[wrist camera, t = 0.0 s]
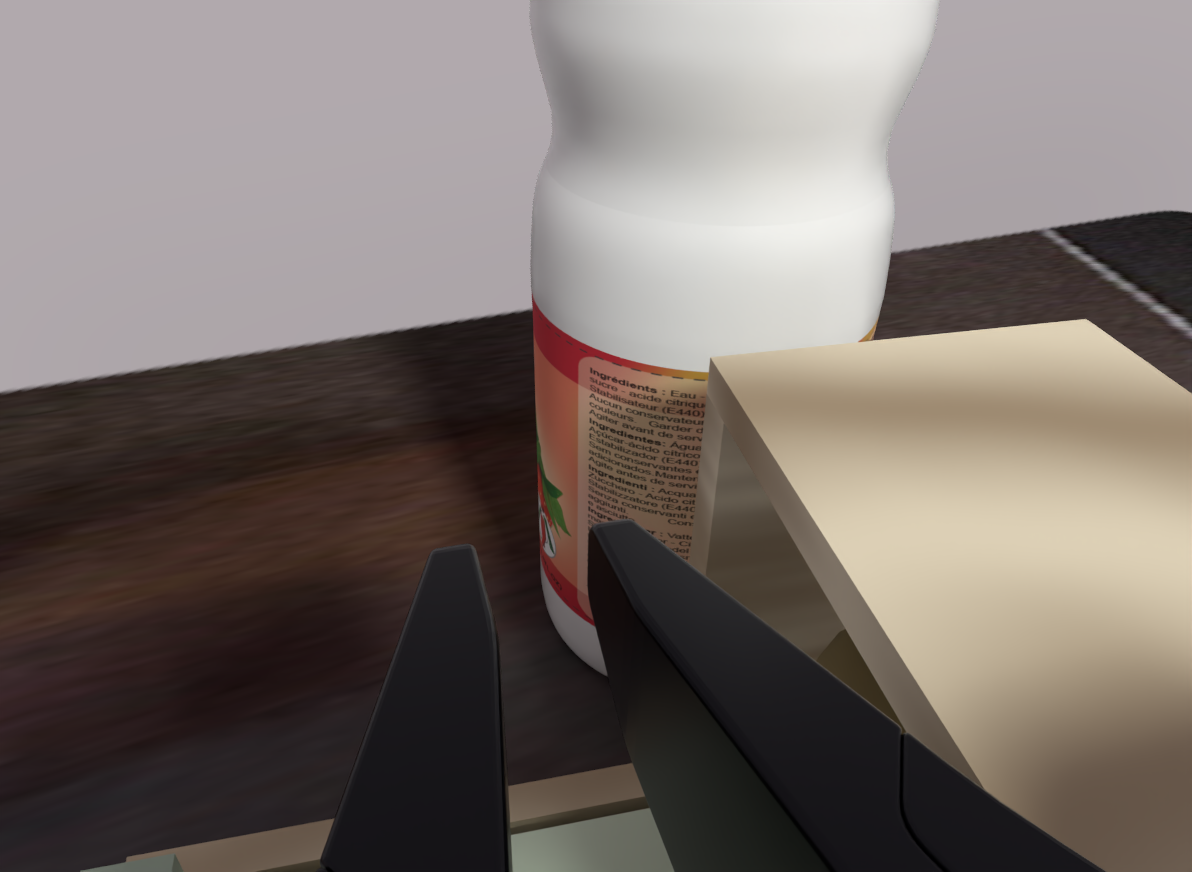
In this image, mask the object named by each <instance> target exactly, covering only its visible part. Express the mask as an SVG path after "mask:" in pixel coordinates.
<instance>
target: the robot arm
mask: <svg viewBox="0 0 1192 872" xmlns="http://www.w3.org/2000/svg"><path fill="white" fill-rule="evenodd" d="M587 587H588V597H589V603H590V608H591V612H592V616H593V620H594V624H595V628H596V632H597V636H598V640H599V644H600V647H601V651H602V655H603V659H604V663H605V667H606V671H607V675H608V679H609V683H610V687H611V691H612V695H613V699H614V703H615V707H616V711H617V714H618V718H619V722H620V726H621V729H622V733H623V736H624V740H625V743H626V746H627V749H628V752H629V755H630V758H631V761H632V763H633V766H634V769H635V772H636V774H637V777H638V779H639V782H640V784H641V787H642V790H643V792H644V795H645V797H646V800H647V803H648V805H649V808H650V810H651V813H652V815H653V818H654V821H655V823H656V826H657V828H658V831H659V833H660V836H661V839H662V841H663V844H664V846H665V849H666V852H667V854H668V857H669V859H670V862H671V864H672V867H673V870H674V872H1107V871H1105V870H1104V869H1102V868H1101V867H1099V866H1097V865H1096V864H1094V863H1093V862H1091V861H1090V860H1088V859H1087V858H1085V857H1083V856H1082V855H1080V854H1079V853H1077V852H1076V851H1074V850H1073V849H1071V848H1070V847H1068V846H1066V845H1065V844H1063V843H1062V842H1060V841H1059V840H1058V839H1056V838H1055V837H1053V836H1052V835H1050V834H1049V833H1047V832H1046V831H1044V830H1043V829H1041V828H1040V827H1038V826H1037V825H1035V824H1034V823H1032V822H1031V821H1029V820H1028V819H1026V818H1025V817H1023V816H1022V815H1020V814H1019V813H1017V812H1016V811H1014V810H1013V809H1011V808H1010V807H1009V806H1007V805H1006V804H1004V803H1003V802H1001V801H1000V800H998V799H997V798H996V797H994V796H993V795H992V794H990V793H989V792H987V791H986V790H985V789H983V788H982V787H981V786H979V785H978V784H977V783H975V782H974V781H973V780H971V779H970V778H968V777H967V776H966V775H964V774H963V773H962V772H960V771H959V770H958V769H956V768H955V767H953V766H952V765H951V764H949V763H948V762H947V761H945V760H944V759H943V758H941V757H940V756H939V755H937V754H936V753H935V752H934V751H932V750H931V749H930V748H928V747H927V746H926V745H925V744H923V743H922V742H921V741H919V740H918V739H917V738H915V737H914V736H913V735H912V734H910V733H908V732H906V733H903V734H902V730H901V727H900V726H899V725H898V724H897V723H895V722H894V721H893V720H892V719H890V718H889V717H888V716H886V715H885V714H884V713H883V712H881V711H880V710H879V709H877V708H876V707H875V706H873V705H872V704H871V703H870V702H868V701H867V700H866V699H864V698H863V697H862V696H860V695H859V694H858V693H857V692H855V691H854V690H853V689H851V688H850V687H849V686H848V685H846V684H845V683H844V682H842V681H841V680H840V679H838V678H837V677H836V676H835V675H833V674H832V673H831V672H829V671H828V670H827V669H826V668H824V667H823V666H822V665H820V664H819V663H818V662H816V661H815V660H814V659H813V658H811V657H810V656H809V655H807V654H806V653H805V652H803V651H802V650H801V649H800V648H798V647H797V646H796V645H794V644H793V643H792V642H791V641H789V640H788V639H787V638H785V637H784V636H783V635H781V634H780V633H779V632H778V631H776V630H775V629H774V628H772V627H771V626H770V625H769V624H767V623H766V622H765V621H763V620H762V619H761V618H759V617H758V616H757V615H756V614H754V613H753V612H752V611H750V610H749V609H748V608H746V607H745V606H744V605H743V604H741V603H740V602H739V601H737V600H736V599H735V598H734V597H732V596H731V595H730V594H728V593H727V592H726V591H724V590H723V589H722V588H721V587H719V586H718V585H717V584H715V583H714V582H713V581H711V580H710V579H709V578H708V577H706V576H705V575H704V574H702V573H701V572H700V571H699V570H697V569H696V568H695V567H693V566H692V565H691V564H689V563H688V562H687V561H686V560H684V559H683V558H682V557H680V556H679V555H678V554H677V553H675V552H674V551H673V550H671V549H670V548H669V547H667V546H666V545H665V544H664V543H662V542H661V541H660V540H658V539H657V538H656V537H654V536H653V535H652V534H651V533H649V532H648V531H647V530H645V529H644V528H643V527H642V526H640V525H639V524H638V523H636V522H635V521H633V520H630V519H620V520H613V521H607V522H601V523H596V524H594V525H593V526H592V527H591V528H590V531H589V536H588V577H587ZM320 866H321V868H319V869H317V870H316V871H315V872H513V868H512V848H511V828H510V808H509V790H508V773H507V757H506V741H505V724H504V708H503V692H502V676H501V659H500V647H499V637H498V633H497V628H496V623H495V619H494V615H493V611H492V608H491V604H490V600H489V596H488V593H487V589H486V585H485V581H484V578H483V574H482V570H481V566H480V563H479V559H478V555H477V552H476V549H475V547H474V546H473V545H471V544H462V545H456V546H449V547H443V548H437V549H434V550H433V551H432V552H431V553H430V555H429V557H428V559H427V562H426V565H425V568H424V571H423V573H422V576H421V579H420V582H419V585H418V587H417V590H416V593H415V596H414V598H413V601H412V604H411V607H410V610H409V612H408V615H407V618H406V621H405V624H404V626H403V629H402V632H401V635H400V637H399V640H398V643H397V646H396V649H395V651H394V654H393V657H392V660H391V663H390V665H389V668H388V671H387V674H386V677H385V679H384V682H383V685H382V688H381V690H380V693H379V696H378V699H377V702H376V704H375V707H374V710H373V713H372V716H371V718H370V721H369V724H368V727H367V730H366V732H365V735H364V738H363V741H362V743H361V746H360V749H359V752H358V755H357V757H356V760H355V763H354V766H353V769H352V771H351V774H350V777H349V780H348V783H347V785H346V788H345V791H344V794H343V796H342V799H341V802H340V805H339V808H338V810H337V813H336V816H335V819H334V822H333V824H332V827H331V830H330V833H329V836H328V838H327V841H326V844H325V847H324V849H323V852H322V855H321V858H320Z"/></svg>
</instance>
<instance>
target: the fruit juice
mask: <svg viewBox="0 0 1192 872" xmlns="http://www.w3.org/2000/svg"><path fill="white" fill-rule="evenodd" d="M939 2H940V0H530V24H531V31H532V37H533V42H534V46H535V52H536V56H537V60H538V64H539V67H540V71H541V74H542V78H543V81H544V85H545V89H546V92H547V96H548V100H549V103H550V107H551V111H552V136H551V142H550V146H549V149H548V152H547V155H546V157H545V159H544V161H543V164H542V166H541V169H540V172H539V174H538V178H537V182H536V187H535V192H534V199H533V200H534V201H533V211H532V229H531V288H532V304H533V333H534V366H535V401H536V434H537V467H538V500H539V532H540V564H541V582H542V588H543V593H544V598H545V602H546V606H547V610H548V612H549V615H550V617H551V619H552V621H553V624H554V626H555V628H556V629H557V631H558V633H559V634H560V636H561V637H562V639H563V640H564V641H565V643H566V644H567V645H568V646H569V647H570V649H571V650H572V651H573V652H574V653H575V654H576V655H577V656H578V657H579V658H580V659H582V660H583V661H584V662H585V663H587V664H588V665H589V666H591V667H592V668H593V669H595V670H597V671H598V672H600V673H601V674H603V675H605V676H607V677H608V675H607V671H606V667H605V663H604V659H603V655H602V651H601V647H600V644H599V640H598V636H597V632H596V628H595V624H594V620H593V616H592V612H591V608H590V603H589V597H588V587H587V577H588V536H589V531H590V528H591V527H592V526H593V525H594V524H596V523H601V522H607V521H613V520H620V519H630V520H633V521H635V522H636V523H638V524H639V525H640V526H642V527H643V528H644V529H645V530H647V531H648V532H649V533H651V534H652V535H653V536H654V537H656V538H657V539H658V540H660V541H661V542H662V543H664V544H665V545H666V546H667V547H669V548H670V549H671V550H673V551H674V552H675V553H677V554H678V555H679V556H680V557H682V558H683V559H684V560H686V561H687V562H688V563H689V560H690V551H691V541H692V531H693V521H694V512H695V502H696V492H697V482H698V473H699V463H700V453H701V443H702V434H703V424H704V414H705V404H706V395H707V385H708V375H709V365H710V357H718V356H728V355H738V354H747V353H757V352H767V351H777V350H787V349H797V348H807V347H816V346H826V345H836V344H846V343H856V342H866V341H873V337H874V333H875V329H876V325H877V321H878V317H879V313H880V309H881V305H882V301H883V297H884V292H885V287H886V281H887V274H888V268H889V262H890V255H891V248H892V240H893V232H894V218H895V205H894V194H893V189H892V184H891V180H890V176H889V171H888V165H887V149H888V145H889V141H890V137H891V133H892V129H893V127H894V125H895V123H896V120H897V118H898V116H899V114H900V112H901V110H902V108H903V106H904V104H905V102H906V100H907V98H908V96H909V94H910V92H911V90H912V88H913V86H914V84H915V82H916V80H917V78H918V76H919V74H920V71H921V69H922V66H923V64H924V61H925V59H926V57H927V55H928V52H929V49H930V46H931V43H932V40H933V37H934V34H935V28H936V22H937V16H938V9H939Z"/></svg>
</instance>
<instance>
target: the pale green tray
mask: <svg viewBox="0 0 1192 872" xmlns="http://www.w3.org/2000/svg"><path fill="white" fill-rule="evenodd" d="M511 848H512V868H513V872H674V870H673V867H672V864H671V862H670V859H669V857H668V854H667V852H666V849H665V846H664V844H663V841H662V839H661V836H660V833H659V831H658V828H657V826H656V823H655V821H654V818H653V815H652V813H651V810H650V808H647V809H642V810H637V811H632V812H627V813H621V814H616V815H611V816H606V817H601V818H596V819H591V820H586V821H581V822H576V823H570V824H565V825H560V826H555V827H550V828H545V829H540V830H535V831H530V832H525V833H520V834H514V835H511ZM80 872H184V871H183V869H182V867H181V865H180V863H179V861H178V859H177V857H176V855H175V853H173V854H168V855H163V856H157V857H152V858H147V859H141V860H136V861H131V862H125V863H120V864H115V865H109V866H104V867H99V868H93V869H88V870H83V871H80Z"/></svg>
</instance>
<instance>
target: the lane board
mask: <svg viewBox="0 0 1192 872" xmlns="http://www.w3.org/2000/svg"><path fill="white" fill-rule="evenodd" d="M689 564H691V565H692V566H693V567H695V568H696V569H697V570H699V571H700V572H701V573H702V574H704V575H705V576H706V577H708V578H709V579H710V580H711V581H713V582H714V583H715V584H717V585H718V586H719V587H721V588H722V589H723V590H724V591H726V592H727V593H728V594H730V595H731V596H732V597H734V598H735V599H736V600H737V601H739V602H740V603H741V604H743V605H744V606H745V607H746V608H748V609H749V610H750V611H752V612H753V613H754V614H756V615H757V616H758V617H759V618H761V619H762V620H763V621H765V622H766V623H767V624H769V625H770V626H771V627H772V628H774V629H775V630H776V631H778V632H779V633H780V634H781V635H783V636H784V637H785V638H787V639H788V640H789V641H791V642H792V643H793V644H794V645H796V646H797V647H798V648H800V649H801V650H802V651H803V652H805V653H806V654H807V655H809V656H810V657H811V658H813V659H814V660H815V661H816V660H817V658H818V657H819V656H820V654H821V653H822V652H823V651H824V650H825V649H826V647H827V646H828V645H829V644H830V643H831V641H832V640H833V639H834V638H835V637H836V635H837V634H838V633H839V632H840V631H842V630H844V629H846V630H847V632H848V634H849V636H850V637H851V639H852V641H853V642H854V644H855V646H856V647H857V649H858V651H859V653H860V654H861V656H862V658H863V659H864V661H865V663H866V664H867V666H868V668H869V669H870V671H871V673H872V675H873V676H874V678H875V680H876V681H877V683H878V685H879V686H880V688H881V690H882V691H883V693H884V695H885V697H886V698H887V700H888V702H889V703H890V705H891V707H892V708H893V710H894V712H895V714H896V715H897V717H898V719H899V720H900V722H901V724H902V725H903V727H904V729H905V730H906V732H908V733H910V734H912V735H913V736H914V737H915V738H917V739H918V740H919V741H921V742H922V743H923V744H925V745H926V746H927V747H928V748H930V749H931V750H932V751H934V752H935V753H936V754H937V755H939V756H940V757H941V758H943V759H944V760H945V761H947V762H948V763H949V764H951V765H952V766H953V767H955V768H956V769H958V770H959V771H960V772H962V773H963V774H964V775H966V776H967V777H968V778H970V779H971V780H973V781H974V782H975V783H977V784H978V785H979V786H981V787H982V788H983V789H985V790H986V791H987V792H989V793H990V794H992V795H993V796H994V797H996V798H997V799H998V800H1000V801H1001V802H1003V803H1004V804H1006V805H1007V806H1009V807H1010V808H1011V809H1013V810H1014V811H1016V812H1017V813H1019V814H1020V815H1022V816H1023V817H1025V818H1026V819H1028V820H1029V821H1031V822H1032V823H1034V824H1035V825H1037V826H1038V827H1040V828H1041V829H1043V830H1044V831H1046V832H1047V833H1049V834H1050V835H1052V836H1053V837H1055V838H1056V839H1058V840H1059V841H1060V842H1062V843H1063V844H1065V845H1066V846H1068V847H1070V848H1071V849H1073V850H1074V851H1076V852H1077V853H1079V854H1080V855H1082V856H1083V857H1085V858H1087V859H1088V860H1090V861H1091V862H1093V863H1094V864H1096V865H1097V866H1099V867H1101V868H1102V869H1104V870H1105V871H1107V872H1192V394H1191V393H1190V392H1188V391H1187V390H1186V389H1184V388H1183V387H1181V386H1180V385H1179V384H1177V383H1176V382H1174V381H1173V380H1171V379H1170V378H1169V377H1167V376H1166V375H1164V374H1163V373H1162V372H1160V371H1159V370H1157V369H1156V368H1155V367H1153V366H1152V365H1150V364H1149V363H1147V362H1146V361H1145V360H1143V359H1142V358H1140V357H1139V356H1138V355H1136V354H1135V353H1133V352H1132V351H1131V350H1129V349H1128V348H1126V347H1125V346H1123V345H1122V344H1121V343H1119V342H1118V341H1116V340H1115V339H1114V338H1112V337H1111V336H1109V335H1108V334H1107V333H1105V332H1104V331H1102V330H1101V329H1100V328H1098V327H1097V326H1095V325H1094V324H1092V323H1091V322H1090V321H1088V320H1087V319H1083V320H1073V321H1063V322H1053V323H1043V324H1033V325H1023V326H1014V327H1004V328H994V329H984V330H974V331H964V332H954V333H945V334H935V335H925V336H915V337H905V338H895V339H885V340H876V341H866V342H856V343H846V344H836V345H826V346H816V347H807V348H797V349H787V350H777V351H767V352H757V353H747V354H738V355H728V356H718V357H710V365H709V375H708V385H707V395H706V404H705V414H704V424H703V434H702V443H701V453H700V463H699V473H698V482H697V492H696V502H695V512H694V521H693V531H692V541H691V551H690V560H689ZM508 790H509V808H510V828H511V835H514V834H520V833H525V832H530V831H535V830H540V829H545V828H550V827H555V826H560V825H565V824H570V823H576V822H581V821H586V820H591V819H596V818H601V817H606V816H611V815H616V814H621V813H627V812H632V811H637V810H642V809H647V808H649V805H648V803H647V800H646V797H645V795H644V792H643V790H642V787H641V784H640V782H639V779H638V777H637V774H636V772H635V769H634V766H633V763H630V764H624V765H619V766H614V767H608V768H603V769H598V770H592V771H587V772H581V773H576V774H571V775H565V776H560V777H555V778H549V779H544V780H538V781H533V782H528V783H522V784H517V785H512V786H508ZM334 819H335V818H334ZM334 819H329V820H323V821H318V822H313V823H307V824H302V825H296V826H291V827H286V828H280V829H275V830H270V831H264V832H259V833H253V834H248V835H243V836H237V837H232V838H227V839H221V840H216V841H210V842H205V843H200V844H194V845H189V846H184V847H178V848H173V849H167V850H162V851H157V852H151V853H146V854H141V855H135V856H130V857H127V859H126V862H131V861H136V860H141V859H147V858H152V857H157V856H163V855H168V854H173V853H175V855H176V857H177V859H178V861H179V863H180V865H181V867H182V869H183V871H184V872H315V871H316V870H317V869H319V868H321V866H320V858H321V855H322V852H323V849H324V847H325V844H326V841H327V838H328V836H329V833H330V830H331V827H332V824H333V822H334Z"/></svg>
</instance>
